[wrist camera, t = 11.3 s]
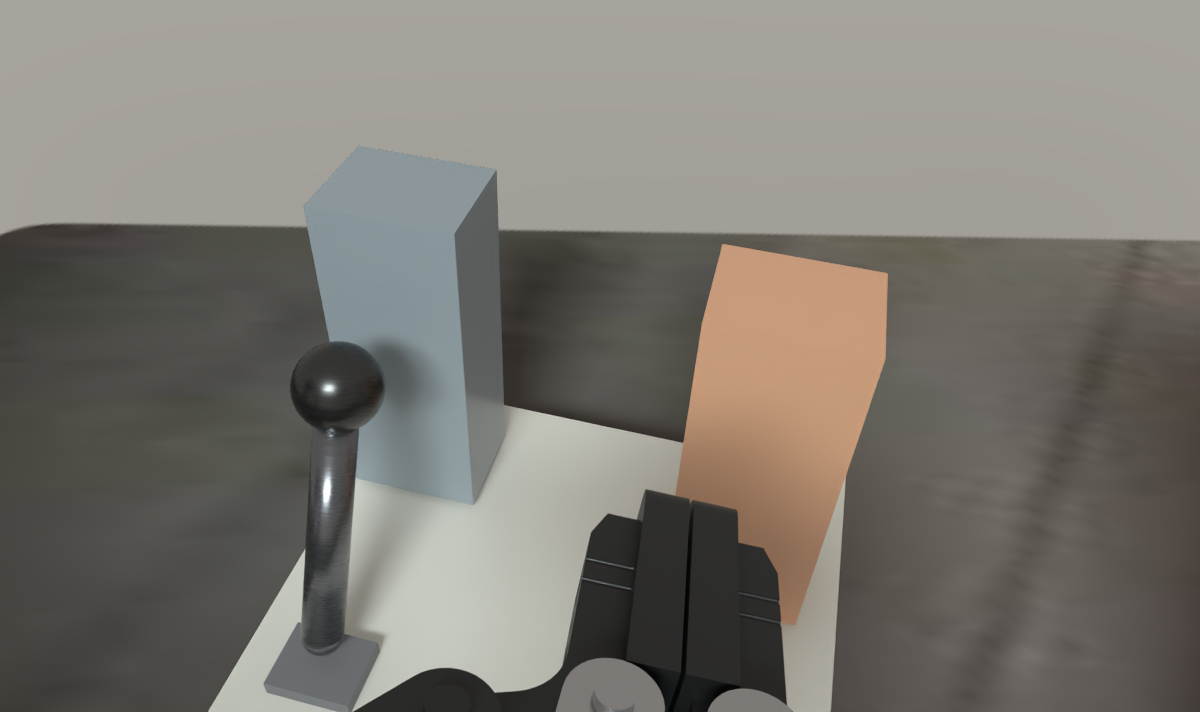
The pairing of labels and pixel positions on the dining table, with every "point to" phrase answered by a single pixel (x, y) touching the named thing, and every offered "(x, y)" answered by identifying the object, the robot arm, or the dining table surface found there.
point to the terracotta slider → (782, 400)
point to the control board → (494, 578)
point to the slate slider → (417, 312)
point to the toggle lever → (332, 477)
